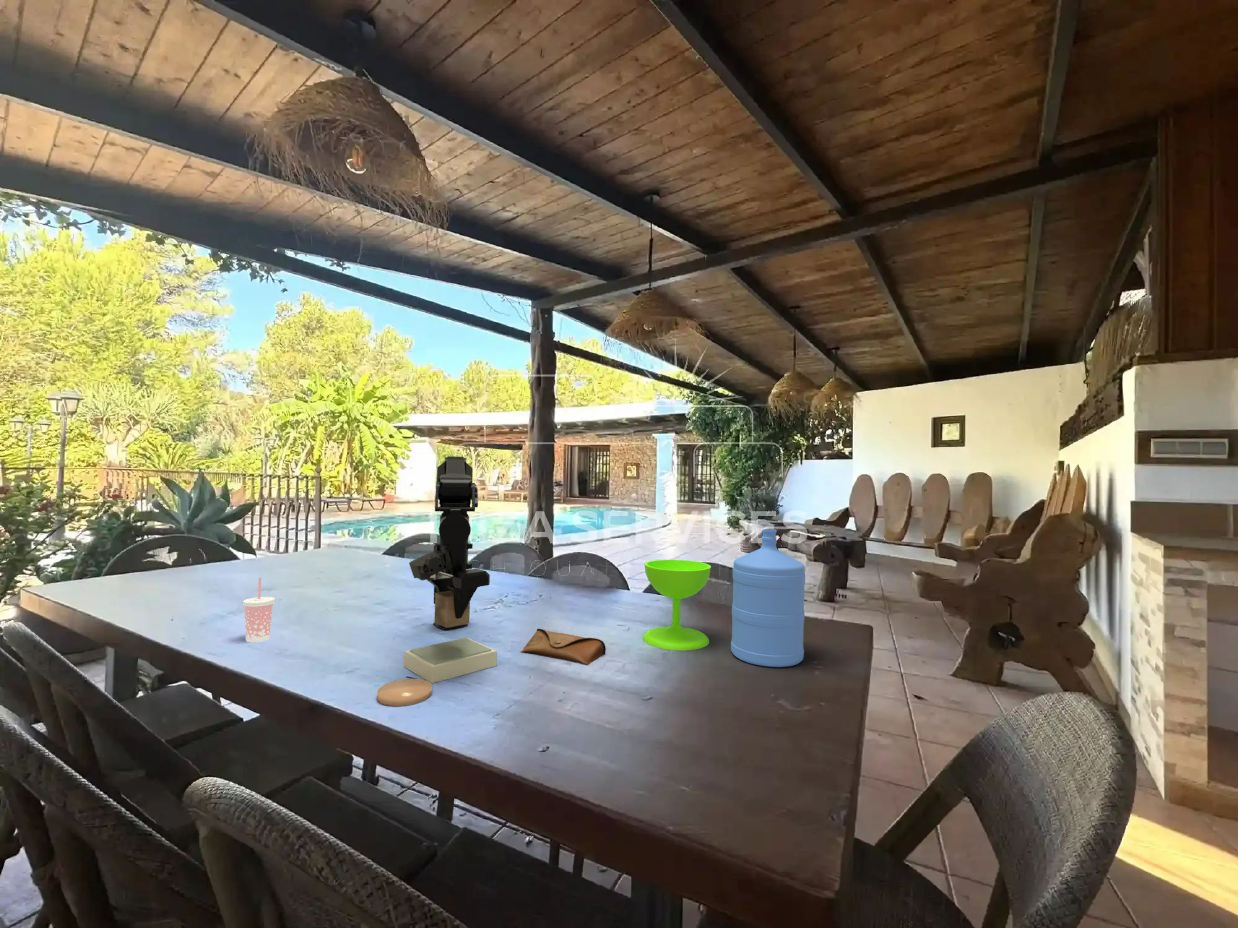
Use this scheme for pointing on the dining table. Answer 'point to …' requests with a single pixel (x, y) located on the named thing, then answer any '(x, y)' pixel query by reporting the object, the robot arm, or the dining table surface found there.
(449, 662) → the base
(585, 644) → the sunglasses case
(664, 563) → the wineglass
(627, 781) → the dining table surface
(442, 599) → the block
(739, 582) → the water jug
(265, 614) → the beverage cup
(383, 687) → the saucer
